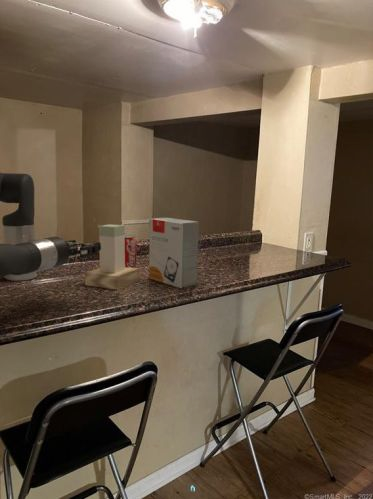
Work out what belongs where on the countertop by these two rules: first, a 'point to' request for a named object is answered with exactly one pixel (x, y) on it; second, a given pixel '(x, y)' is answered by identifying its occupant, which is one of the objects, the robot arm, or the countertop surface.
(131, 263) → the soda can
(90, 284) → the podium
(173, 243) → the hard drive box
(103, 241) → the carton
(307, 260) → the countertop surface
